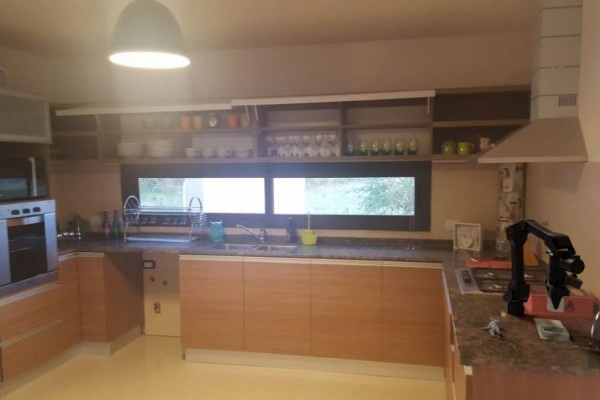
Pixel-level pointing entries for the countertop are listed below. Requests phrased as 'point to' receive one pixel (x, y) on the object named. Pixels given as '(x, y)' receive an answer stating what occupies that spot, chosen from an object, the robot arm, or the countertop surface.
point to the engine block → (551, 308)
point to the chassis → (552, 329)
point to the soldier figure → (493, 326)
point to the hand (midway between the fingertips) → (554, 307)
